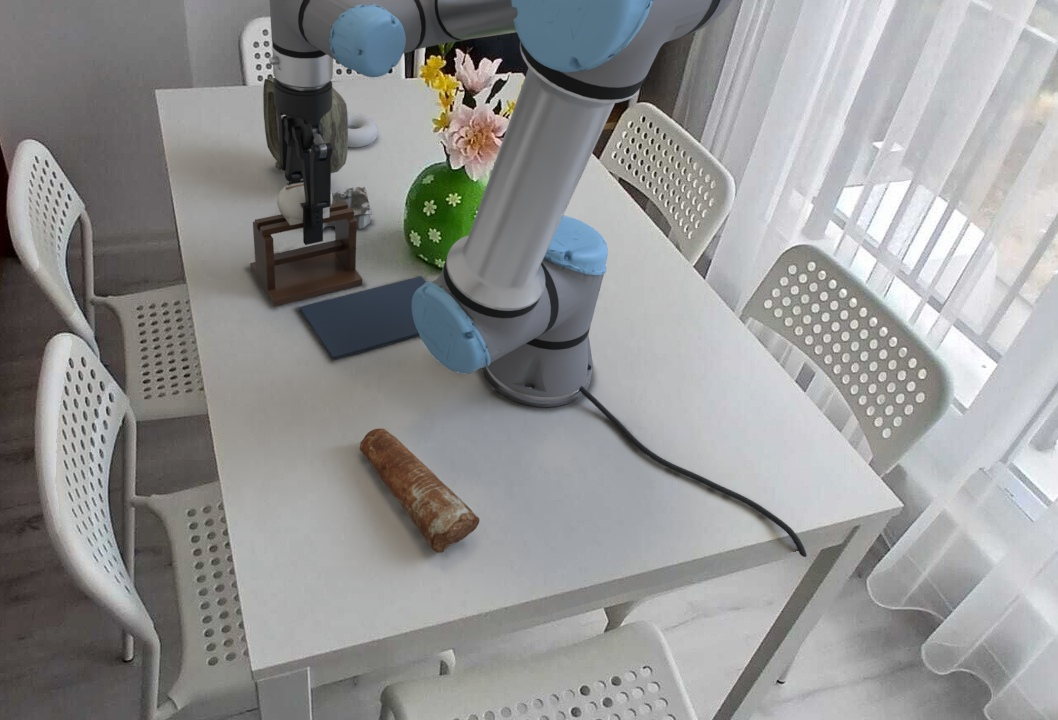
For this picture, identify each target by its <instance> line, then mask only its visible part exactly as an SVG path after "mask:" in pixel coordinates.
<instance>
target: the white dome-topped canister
mask: <svg viewBox="0 0 1058 720" xmlns="http://www.w3.org/2000/svg"><path fill="white" fill-rule="evenodd" d="M332 193H333V192H332V191H331V205H332V200H333V197H332ZM305 202H306V201H305V192H304V184H303V182H301V183H296V184H290V185H287V184H286V185H285V186H283V188H281V189H280V191H279V192H278V195H277V197H276V205H277V209H278V210H279V212H280V213H281V214H282V215H283V216H284V218H285V219H286V220H287V222H288V223H289V224H290V225H295V224H300V223H303V209H302V207H301V203H305ZM330 207H331V206H330ZM330 207H327V208H323V219H324V218H329V213H330Z"/></svg>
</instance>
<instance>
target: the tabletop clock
mask: <svg viewBox="0 0 1058 720" xmlns="http://www.w3.org/2000/svg"><path fill="white" fill-rule="evenodd" d="M274 79H275V77H270V78H264V82H263V91H262V92H263V93H262V94H263V96H262V97H263V99H262V100H263V102H262V103H263V122H264V132H265V133H264V134H265V140H266V145H267V148H268V150H269V152H270V154H271V156H272V158H274V160H275V164H274V166H275V168H276V170H278V171H282V170H281V168H280V146H279V120H278V113H277V109H276V107H275V105H274V88H273V81H274ZM347 112H348V106H347V103H346V101H345V99H344V98H343V96H342V95H341V94H340V93H339V92H338V90H336V89H335V88H334V86H332V108H331V110H330V111H329V112H328V113H327V114H325V115H324V116H323V117H322V118H321V123H322V126H323V137H322V139H323V141H324V143H331V144H332V147H333V148H332V155H331V174H334V173H338V172H339V171H341V169H342V168H343V167H344V166H345V165H346V162H347V158H348V148H349V147H348V114H347ZM307 151H309V150H307ZM302 180H303V179H301V181H302Z"/></svg>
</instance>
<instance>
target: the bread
mask: <svg viewBox="0 0 1058 720" xmlns="http://www.w3.org/2000/svg"><path fill="white" fill-rule="evenodd" d="M359 450H360V452H361V453H362V454H363V455H364V456H365V457H366V459H367V460H368V461H369V463H370V464H371V465H372V467H373V468H374V470H375V471H376V474H377V476H378V477H379V478H380V479H381V480H382V482H383V483H384V484H385V486H386V487H387V488H388V489H389V491H390V492H391V494H392V495H393V497H394V498H396V500H397V502H398V503H399V504H400V505H401V507H402V508H403V510H404V511H405V513H406V514H407V515H408V517H409V518H410V521H412V523H413V524H414V525H415V527H416V528H417V530H418V531H419V532H420V534H421V535H422V537H423V538H424V539H425V541H426V542H427V544H428V545H429V546H430V547H431V549H432V550H433V551H434V552H435V553H436V554H439V553H440V554H441V553H443V552H445V550H446V549H447V548H448V547H450V546H451V545H453V544H456V543H458V542H460V541H462V540H464V539H465V538H466V537H468V536H469V535H470V534H471V533H472V532H474V531H475V530H476V529H477V527H478V526H479V524H480V517H478V516H477V515H476V513H474V512H473V510H472V509H471V508H470V507H469V506H468V505H467V504H466V503H465V502H464V501H462V499H461V498H460V497H459V496H458V495H457V494H455V492H453V490H452V489H450V488H449V486H448V485H446V484H445V483H443V481H442V480H440V478H439V477H438V476H437V475H436V474H435V473H434V471H432V470H431V469H430V468H428V466H427V465H426V464H425V463H423V462H422V461H421V460H420V459H419V458H418V456H416V455H415V454H414V453H413V452H412V451H410V450H409V448H408V447H406V446H405V444H403V443H402V442H401V441H400V440H399V439H398V438H397V437H396V436H394V435H393V434H392V433H390V432H389V431H388V430H387V429H386V428H380V427H377V428H373V429H371V430H370V431H368V432H367V433H366V434H365V436H364V437H363V439H362V440H361V441H360V443H359Z"/></svg>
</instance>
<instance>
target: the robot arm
mask: <svg viewBox="0 0 1058 720" xmlns="http://www.w3.org/2000/svg"><path fill="white" fill-rule="evenodd" d="M732 2H733V0H269V14H270V15H269V16H270V32H271V34H270V35H271V48H272V49H271V50H272V56H270V57H269V58H268V60H269V61H268V62H269V64H270V65H271V66H272V72H273V78H275V79H274V81H273V88H274V105H275V107H276V109H277V113H278V120H279V146H280V168H281V170H280V171H281V172H284V178H285V181H286V182H287V183H286V186H287V185H290V184H296V183H301V182H303V184H304V192H305V201H306V202H305V203H301V207H302V209H303V228H302V230H303V231H302V240H303V241H302V243H303V244H304V246H309V245H314V244H318V243H323V242H324V229H323V208H327V207H330V206H331V192H332V191H331V190H332V187H331V185H332V183H331V182H332V177H331V175H332V173H331V155H332V148H333V147H332V144H331V143H324V141H323V139H322V137H323V126H322V123H321V118H322V117H323V116H324V115H325V114H327V113H328V112H329V111H330V110H331V108H332V87H333V82H332V79H333V75H334V60H335V61H336V62H338V63H339V64H340V65H341V66H343V67H344V68H347V69H348V70H350V71H354V72H356V73H357V74H361V75H363V76H365V77H368V78H379V77H383V76H385V75H387V74H388V73H389V71H390V70H392V69H393V68H395V67H396V66H398V64H399V63H400V61H401V59H402V57H403V55H404V54H406V53H407V54H408V53H410V52H413V51H417V50H420V49H426V48H430V47H434V46H438V45H443V44H448V43H449V44H450V43H455V42H456V43H457V42H463V41H466V40H472V39H479V38H484V37H485V38H487V37H493V36H500V35H506V34H507V35H508V34H513V33H516V34H517V36H518V38H519V41H520V42H519V51H520V55H521V57H522V59H523V61H524V63H525V64H526V66H527V68H528V69H527V71H526V74H525V77H524V79H523V82H522V85H521V88H520V91H519V94H518V96H517V99H516V102H515V104H514V108H513V111H512V113H511V116H510V119H509V121H508V125H507V127H506V130H505V133H504V135H503V138H502V142H501V145H500V147H499V150H498V153H497V155H496V159H495V161H494V164H493V166H492V169H491V172H490V175H489V178H488V180H487V183H486V186H485V189H484V192H483V194H482V197H481V200H480V203H479V205H478V208H477V212H476V214H475V217H474V220H473V223H472V225H471V227H470V231H469V232H468V233H469V234H468V235H465V236H463V237H461V238H459V239H458V240H456V241H455V242H454V243H453V244H452V246H451V247H450V249H449V250H448V253H447V255H446V258H445V261H444V264H443V266H442V270H441V272H440V274H439V276H437V278H435V279H434V280H432V281H426V282H425V283H424V284H423V286H421V287H420V288H418V289H417V290H416V291H415V293H414V295H413V298H412V316H413V320H414V323H415V326H416V328H417V330H418V333H419V335H420V336H419V337H420V340H421V341H422V343H423V345H424V347H426V349H427V350H428V352H429V353H430V354H431V356H433V358H434V359H435V360H436V361H437V362H438V363H439V364H441V365H442V367H445V368H446V369H448V370H449V371H451V372H454V373H458V374H461V375H467V374H471V373H473V372H475V371H478V370H480V369H482V370H483V374H484V376H485V378H486V379H487V381H488V383H489V384H490V385H491V386H492V387H493V388H494V389H495V390H496V391H498V393H500V394H501V395H503V396H504V397H506V398H509V399H510V400H513V401H514V402H518V403H520V404H524V405H527V406H532V407H539V408H541V407H542V408H543V407H544V408H548V407H549V408H551V407H559V406H564V405H567V404H570V403H573V402H574V401H576V400H578V399H579V398H580V397H582V396H584V397H586V398H587V399H588V401H590V402H591V403H592V405H594V406H595V407H596V408H597V409H598V410H599V412H601V413H602V414H603V415H604V416H605V417H606V418H607V419H608V420H609V421H610V422H611V423H612V424H613V425H614V426H615V427H616V428H617V429H618V430H619V431H620V432H621V433H622V434H623V435H624V437H625V438H627V440H628V441H629V442H630V443H631V444H633V446H635V447H636V448H637V449H638V450H639V451H640V452H642V453H643V454H644V455H646V456H648V458H650V459H651V460H653V461H655V462H656V463H658V464H660V465H662V466H664V467H666V468H667V469H669V470H671V471H673V472H676V473H678V474H680V475H682V476H685V477H688V478H689V479H692V480H694V481H697V482H699V483H701V484H703V485H705V486H707V487H709V488H711V489H713V490H715V491H718V492H720V493H721V494H723V495H726V496H728V497H731V498H733V499H735V500H736V501H737V500H738V501H739V502H740V503H743V504H745V505H747V506H749V507H751V508H752V509H753V510H756V512H759V514H761V515H762V516H764V517H766V518H767V519H768V520H770V521H771V522H773V523H774V524H775V525H777V526H778V527H780V528H781V529H782V530H783V531H784V532H785V533H786V534H787V536H789V537H790V538H791V540H792V542H793V543H794V545H795V547H796V548H797V549H796V550H797V551H798V553H799V555H800V556H802V557H803V558H807V556H808V555H807V552H806V549H805V546H804V545H803V543H802V541H801V539H800V537H799V536H798V534H797V533H796V532H795V531H794V529H792V528H791V527H790V526H789V525H788V524H787V523H786V522H784V521H783V520H782V519H781V518H779V517H778V516H776V515H775V514H773V513H772V512H771V511H769V510H768V509H766V508H764V507H763V506H762V505H760V504H759V503H756V502H755V501H753V500H751V499H750V498H748V497H746V496H744V495H742V494H740V493H738V492H736V491H734V490H731V489H729V488H727V487H724V486H722V485H720V484H718V483H716V482H714V481H712V480H710V479H707V478H705V477H704V476H701V475H699V474H697V473H695V472H692V471H690V470H688V469H686V468H683V467H681V466H679V465H676V464H674V463H673V462H670V461H668V460H666V459H664V458H663V457H661V456H660V455H658V454H656V453H655V452H653V451H651V450H650V449H649V448H648V447H646V446H645V445H643V444H642V443H641V442H640V441H639V440H638V439H637V438H636V437H635V436H634V435H633V434H632V433H631V432H630V431H629V430H628V429H627V427H625V426H624V425H623V423H621V421H619V419H618V418H616V417H615V416H614V414H612V413H611V412H610V411H609V409H607V407H605V406H604V404H602V403H601V402H600V401H599V400H598V399H597V398H596V397H595V396H594V395H593V394H592V393H590V391H589V390H588V388H589V386H590V385H591V381H592V376H593V373H594V361H593V356H592V355H593V354H592V348H591V341H590V336H589V334H590V329H591V327H592V326H591V325H592V322H593V318H594V314H595V310H596V306H597V302H598V299H599V295H600V291H601V288H602V283H603V279H604V275H605V274H606V272H607V260H608V255H609V248H608V244H607V242H606V239H605V238H604V237H603V235H602V234H601V233H600V232H599V231H598V230H597V229H595V228H594V227H593V226H591V225H590V224H588V223H587V222H584V221H582V220H579V219H577V218H575V217H571V216H568V215H565V212H566V210H567V209H568V206H569V204H570V201H571V199H572V198H573V195H574V193H575V191H576V189H577V186H578V184H579V182H580V180H581V178H582V176H583V174H584V171H585V170H586V167H587V165H588V163H589V160H590V158H591V157H592V155H593V152H594V150H595V147H596V146H597V144H598V141H599V140H600V137H601V135H602V132H603V131H604V128H605V126H606V124H607V121H608V120H609V117H610V116H611V113H612V111H613V108H614V107H615V104H618V103H622V102H625V101H628V100H631V99H632V98H633V97H635V96H636V95H637V94H638V93H639V91H640V90H641V88H642V86H643V84H644V82H645V80H646V77H647V76H648V73H649V71H650V69H651V67H652V65H653V63H654V61H655V59H656V57H657V55H658V53H659V51H660V49H661V47H662V46H663V45H664V44H665V43H667V42H671V41H674V40H677V39H681V38H683V37H686V36H688V35H691V34H694V33H696V32H699V31H700V30H702V29H705V28H707V27H708V26H709V25H711V24H712V23H713V22H714V21H716V20H717V19H718V18H719V17H721V15H722V14H724V12H725V11H726V10H727V8H728V7H729V6H730V5H731V3H732ZM307 150H309V151H307ZM301 179H302V180H301Z"/></svg>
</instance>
